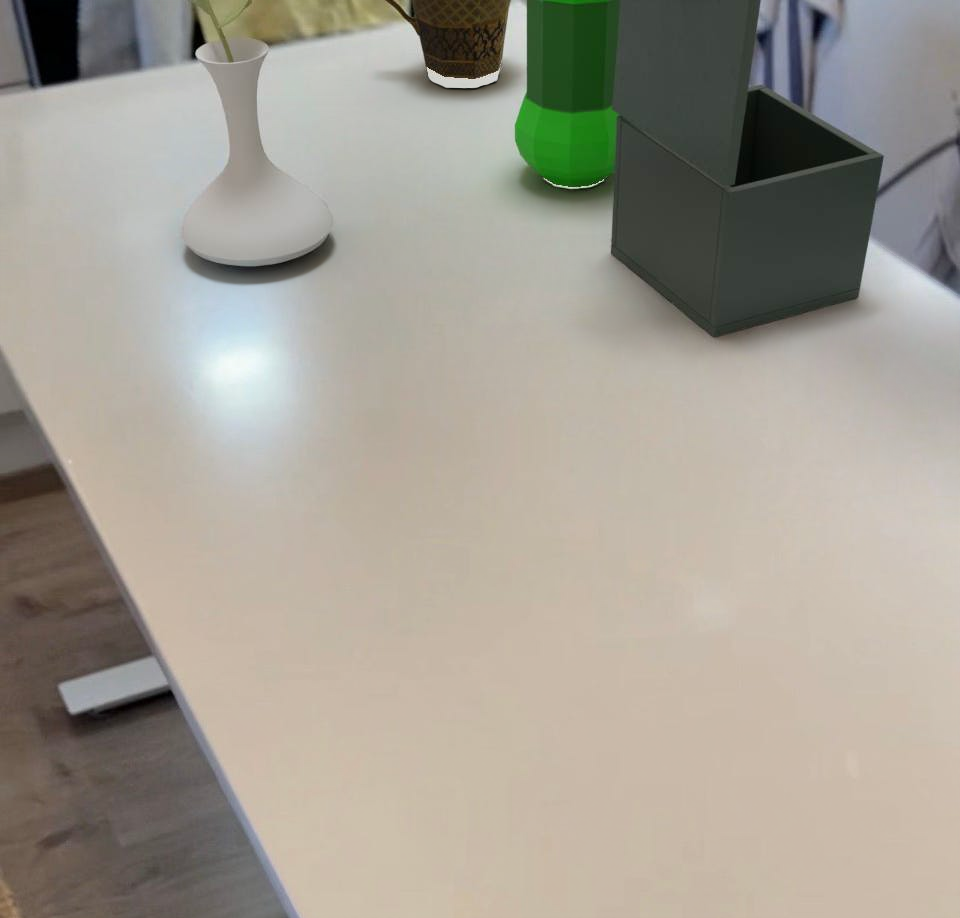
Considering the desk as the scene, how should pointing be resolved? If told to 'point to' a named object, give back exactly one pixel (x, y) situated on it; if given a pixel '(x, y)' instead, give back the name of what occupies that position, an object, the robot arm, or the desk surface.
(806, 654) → the desk surface
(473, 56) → the ceramic cup
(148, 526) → the desk surface
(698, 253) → the bin
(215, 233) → the flower in vase
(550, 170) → the plastic bottle
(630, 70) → the bin lid
